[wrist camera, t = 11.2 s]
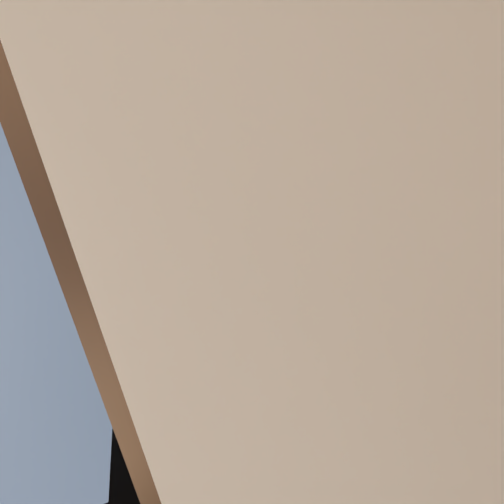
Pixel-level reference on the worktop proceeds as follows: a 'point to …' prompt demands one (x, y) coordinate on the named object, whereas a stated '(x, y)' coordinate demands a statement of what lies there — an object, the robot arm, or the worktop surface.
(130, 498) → the robot arm
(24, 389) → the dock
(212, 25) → the cream cube
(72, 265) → the brown long wavy block
